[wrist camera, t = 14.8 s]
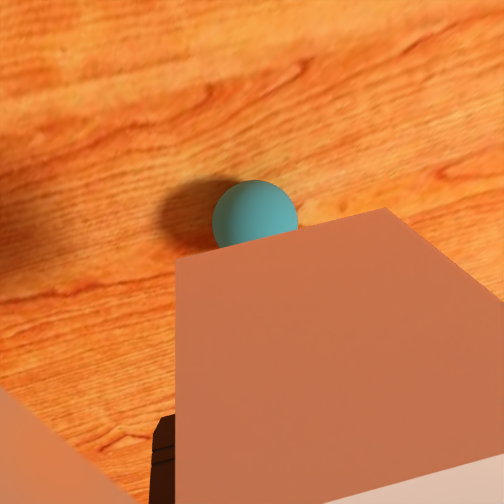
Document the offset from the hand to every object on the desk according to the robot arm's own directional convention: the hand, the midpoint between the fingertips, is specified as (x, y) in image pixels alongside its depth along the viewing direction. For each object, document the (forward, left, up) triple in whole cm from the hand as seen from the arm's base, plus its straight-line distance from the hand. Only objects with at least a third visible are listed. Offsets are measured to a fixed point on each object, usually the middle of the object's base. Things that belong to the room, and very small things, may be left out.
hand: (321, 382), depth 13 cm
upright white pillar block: (0, 0, -3) cm, 3 cm away
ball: (-1, -1, -15) cm, 15 cm away
